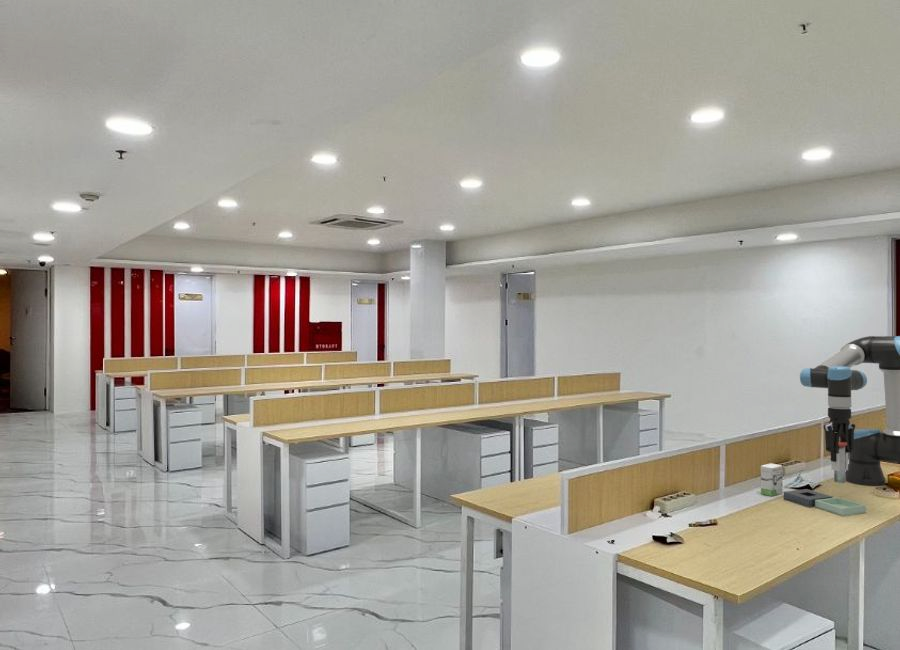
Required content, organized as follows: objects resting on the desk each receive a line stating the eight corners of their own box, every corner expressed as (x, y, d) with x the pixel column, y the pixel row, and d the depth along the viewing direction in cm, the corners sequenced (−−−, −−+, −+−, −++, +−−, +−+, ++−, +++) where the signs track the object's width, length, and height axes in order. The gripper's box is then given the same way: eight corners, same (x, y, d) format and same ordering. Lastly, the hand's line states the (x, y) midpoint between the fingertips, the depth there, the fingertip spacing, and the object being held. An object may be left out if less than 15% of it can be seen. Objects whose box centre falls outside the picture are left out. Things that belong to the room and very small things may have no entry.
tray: (838, 504, 245) (838, 497, 245) (866, 512, 234) (866, 505, 234) (815, 507, 241) (815, 500, 241) (842, 516, 230) (842, 508, 230)
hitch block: (806, 496, 256) (806, 488, 256) (833, 504, 245) (832, 496, 245) (783, 499, 253) (783, 491, 253) (809, 507, 241) (809, 499, 241)
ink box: (772, 496, 256) (771, 467, 256) (760, 494, 261) (760, 465, 260) (783, 493, 261) (782, 465, 261) (771, 490, 265) (771, 462, 265)
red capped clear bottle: (838, 479, 240) (838, 439, 240) (850, 482, 236) (850, 442, 236) (829, 480, 239) (829, 440, 239) (840, 483, 234) (840, 443, 234)
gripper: (847, 405, 244) (847, 465, 244) (813, 407, 238) (814, 469, 238) (865, 407, 236) (865, 470, 236) (831, 409, 231) (831, 473, 231)
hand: (839, 469), depth 237 cm, fingers closed on red capped clear bottle, 3 cm apart
